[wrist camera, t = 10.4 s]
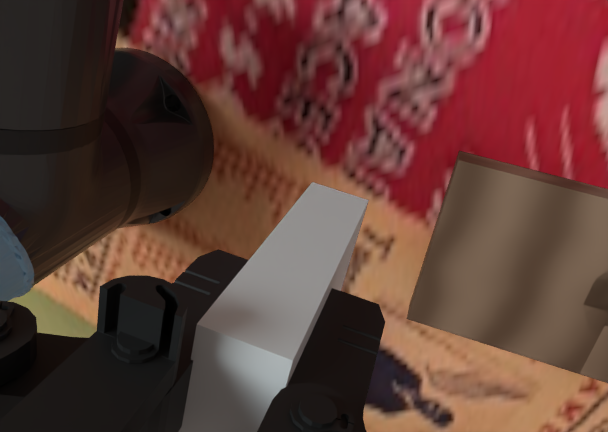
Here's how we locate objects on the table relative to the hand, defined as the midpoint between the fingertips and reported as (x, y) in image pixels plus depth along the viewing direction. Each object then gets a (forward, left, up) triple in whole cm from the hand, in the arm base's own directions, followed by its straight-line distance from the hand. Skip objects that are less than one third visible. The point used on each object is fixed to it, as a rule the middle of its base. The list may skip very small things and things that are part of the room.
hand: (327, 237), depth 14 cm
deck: (+15, -11, -29) cm, 34 cm away
